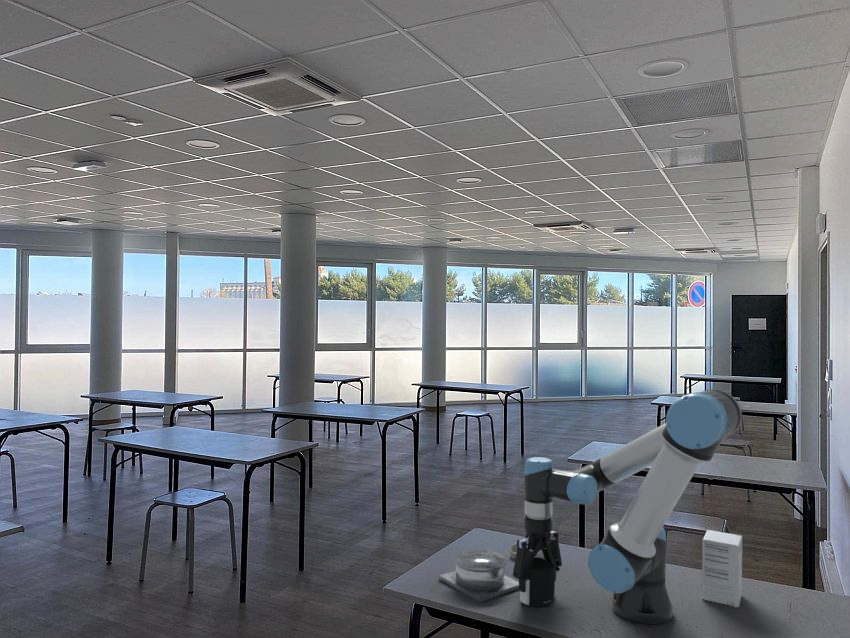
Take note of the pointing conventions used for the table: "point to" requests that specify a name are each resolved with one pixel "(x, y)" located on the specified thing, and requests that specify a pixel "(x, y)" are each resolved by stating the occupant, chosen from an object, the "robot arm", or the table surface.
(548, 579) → the pen holder
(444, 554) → the table surface
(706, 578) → the supplement box
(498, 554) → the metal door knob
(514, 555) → the beige oval ring
